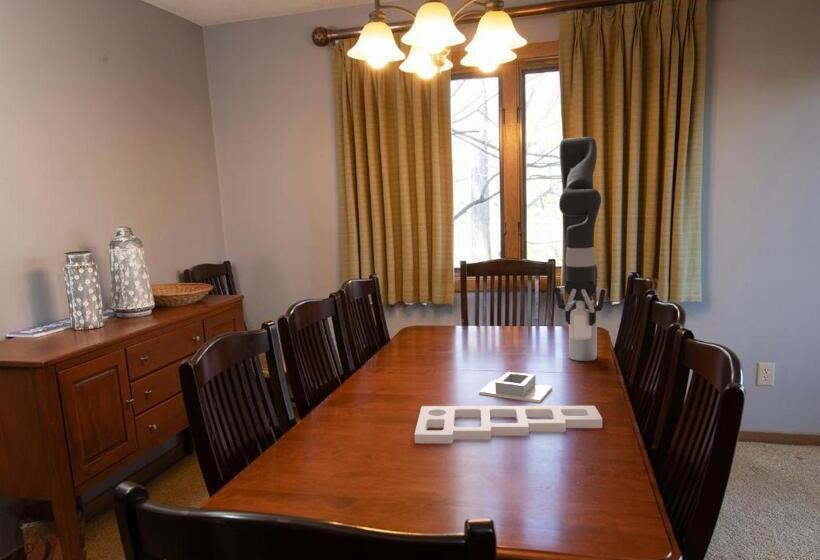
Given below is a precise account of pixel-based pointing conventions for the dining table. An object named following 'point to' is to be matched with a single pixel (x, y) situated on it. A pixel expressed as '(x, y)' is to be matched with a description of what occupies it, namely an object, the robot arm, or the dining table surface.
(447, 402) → the dining table surface
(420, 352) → the dining table surface
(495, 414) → the holder
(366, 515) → the dining table surface
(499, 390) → the holder stand
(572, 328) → the eye dropper bottle
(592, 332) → the robot arm
